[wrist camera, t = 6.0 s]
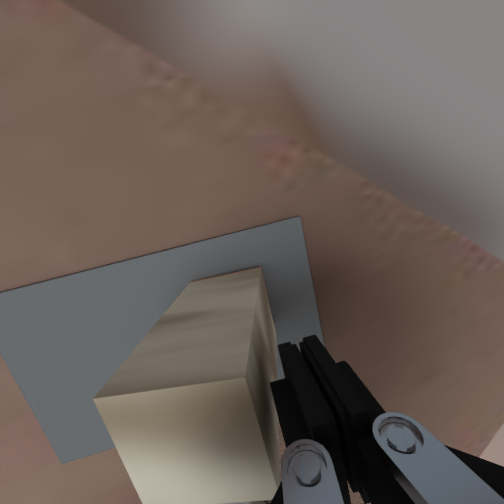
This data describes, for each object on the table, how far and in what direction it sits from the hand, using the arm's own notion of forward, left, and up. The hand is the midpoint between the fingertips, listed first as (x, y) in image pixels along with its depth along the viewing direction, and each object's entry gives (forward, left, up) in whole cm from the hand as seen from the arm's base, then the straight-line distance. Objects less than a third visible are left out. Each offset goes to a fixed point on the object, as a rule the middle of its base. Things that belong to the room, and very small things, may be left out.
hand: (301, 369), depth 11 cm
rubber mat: (-2, +7, -9) cm, 12 cm away
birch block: (0, +2, -8) cm, 8 cm away
